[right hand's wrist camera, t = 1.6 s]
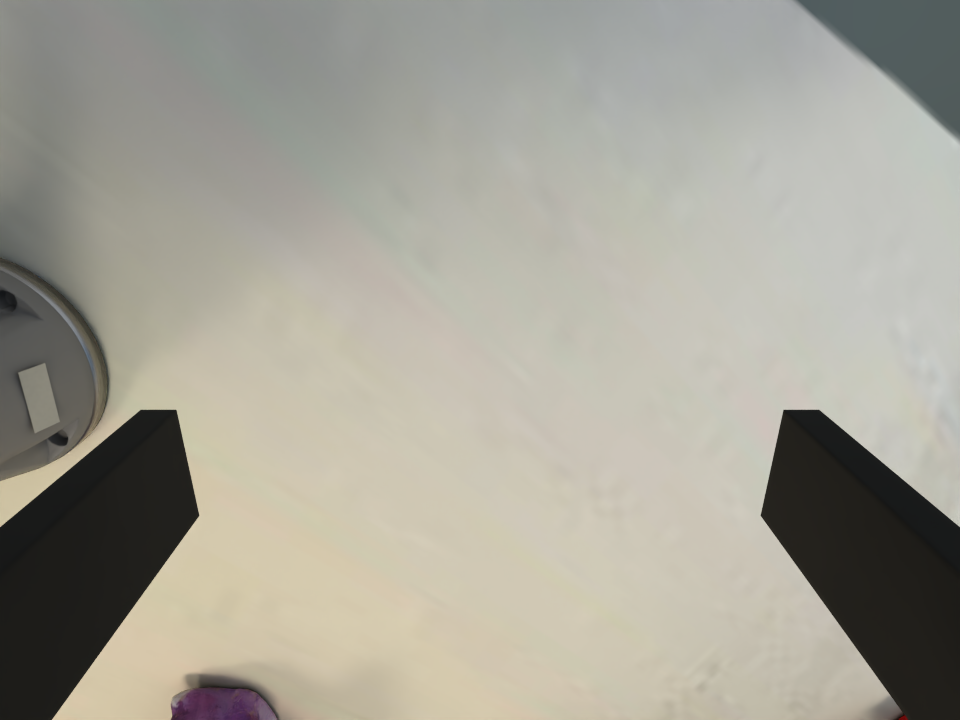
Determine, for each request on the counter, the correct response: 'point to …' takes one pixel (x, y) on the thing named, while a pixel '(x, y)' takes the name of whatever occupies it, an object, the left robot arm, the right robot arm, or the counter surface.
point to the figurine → (220, 705)
